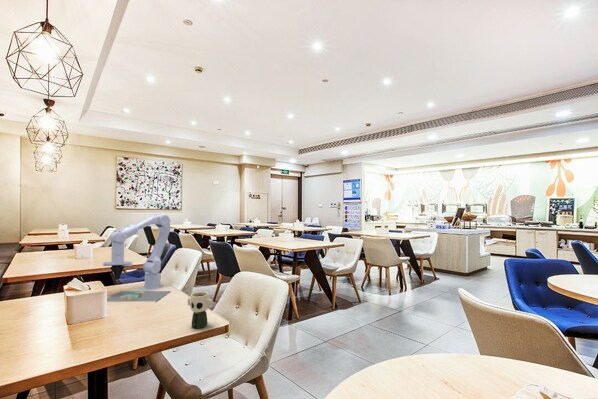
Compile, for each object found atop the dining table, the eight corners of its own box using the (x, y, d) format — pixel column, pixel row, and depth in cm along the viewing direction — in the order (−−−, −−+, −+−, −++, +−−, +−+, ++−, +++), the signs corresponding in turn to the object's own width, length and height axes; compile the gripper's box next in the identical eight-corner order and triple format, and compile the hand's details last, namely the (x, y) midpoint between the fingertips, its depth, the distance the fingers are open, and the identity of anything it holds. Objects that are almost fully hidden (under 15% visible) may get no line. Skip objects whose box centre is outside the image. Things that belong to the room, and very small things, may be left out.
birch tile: (130, 291, 161) (144, 291, 162) (130, 294, 161) (144, 294, 161) (120, 296, 152) (135, 296, 153) (120, 299, 152) (135, 299, 152)
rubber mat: (120, 292, 168) (120, 291, 168) (170, 291, 168) (170, 291, 168) (100, 302, 150) (100, 301, 150) (156, 302, 150) (156, 301, 150)
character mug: (182, 328, 119) (182, 295, 119) (192, 321, 126) (192, 290, 126) (207, 330, 116) (207, 297, 117) (215, 323, 123) (216, 292, 124)
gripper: (99, 255, 156) (99, 281, 156) (127, 255, 157) (127, 281, 157) (107, 253, 163) (107, 277, 163) (134, 253, 164) (134, 277, 164)
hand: (117, 279), depth 160 cm, fingers closed
